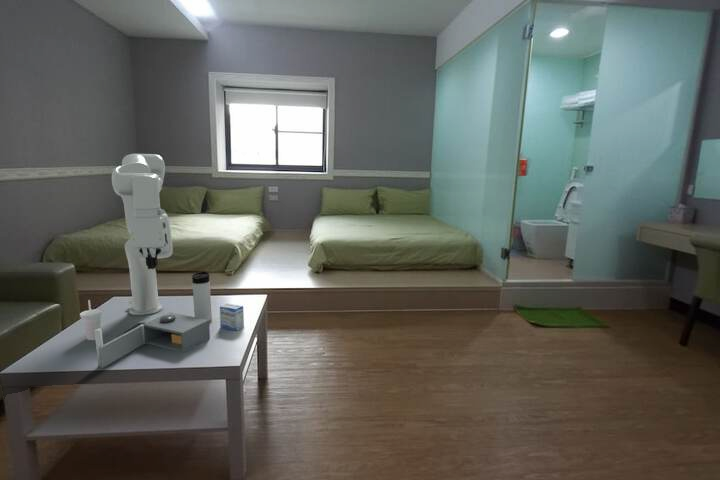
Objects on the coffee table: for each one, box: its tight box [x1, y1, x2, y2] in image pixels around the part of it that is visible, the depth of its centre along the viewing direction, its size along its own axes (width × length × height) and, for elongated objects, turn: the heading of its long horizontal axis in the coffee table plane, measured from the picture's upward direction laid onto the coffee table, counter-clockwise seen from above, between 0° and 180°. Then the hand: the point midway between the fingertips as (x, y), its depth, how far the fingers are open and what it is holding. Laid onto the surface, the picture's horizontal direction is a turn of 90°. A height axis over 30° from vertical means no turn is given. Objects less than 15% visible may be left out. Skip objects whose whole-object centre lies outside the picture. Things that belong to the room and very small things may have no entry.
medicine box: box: [219, 303, 245, 331], centre depth 150 cm, size 8×4×9 cm, turn 70°
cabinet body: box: [143, 312, 211, 353], centre depth 138 cm, size 18×12×8 cm, turn 69°
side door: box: [94, 325, 146, 369], centre depth 126 cm, size 18×3×12 cm, turn 169°
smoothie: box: [79, 299, 103, 341], centre depth 138 cm, size 6×6×14 cm
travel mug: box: [191, 270, 213, 324], centre depth 154 cm, size 6×7×20 cm
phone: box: [116, 322, 145, 338], centre depth 145 cm, size 7×1×15 cm
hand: (152, 267), depth 130 cm, fingers closed
